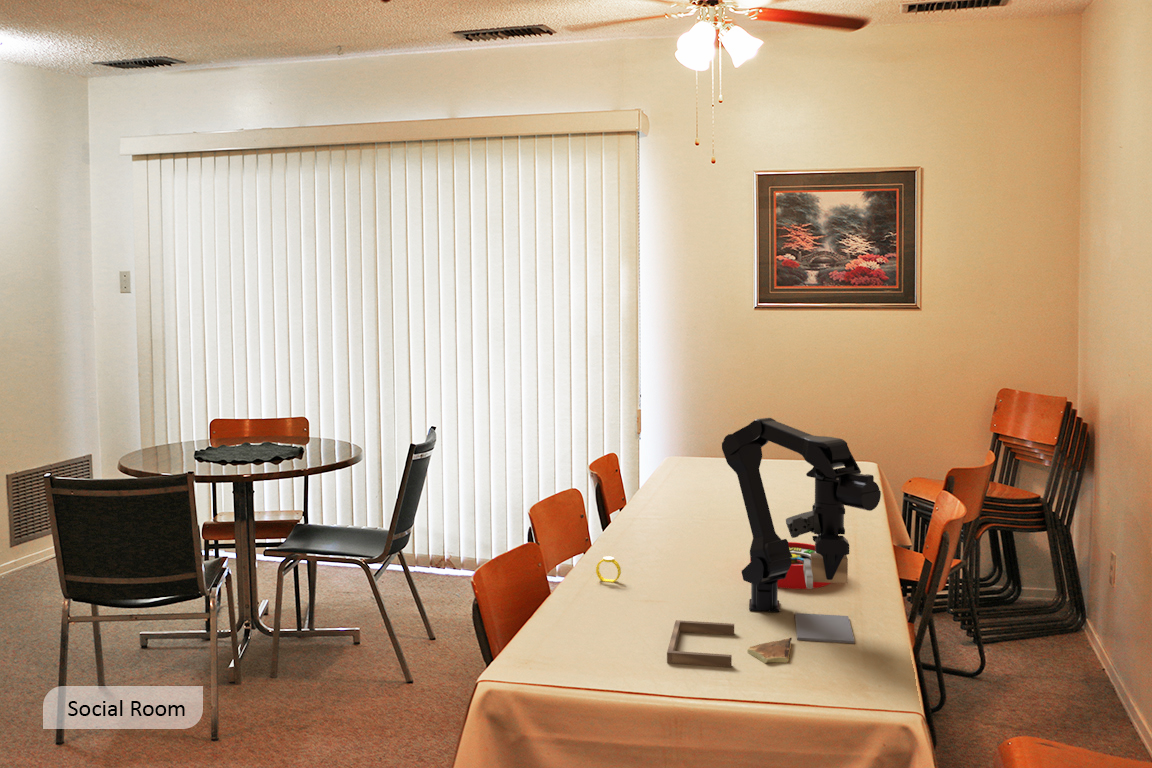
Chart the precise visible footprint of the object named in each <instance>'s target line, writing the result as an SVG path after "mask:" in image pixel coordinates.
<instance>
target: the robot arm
mask: <svg viewBox="0 0 1152 768" xmlns="http://www.w3.org/2000/svg"><path fill="white" fill-rule="evenodd" d="M769 442H770V443H773V444H776V445H778V446H780V447H783V448H785V449H787V450H789V451H793V452H794V453H797V454H799V455H801V456H802V458H803V459H804V462H806V463H808V464H810V466H812V468H811V469H810V470H809V471H807V472H806V477H809V478H814V503H813V504H812V505H811V506H812V510H810V511H806V512H801V513H799V514H796V515H793V516H790V517H787V518H785V523H786V526H787V529H788V531H789V534H790V535H789V536H790V537H791V538H792V539H793V538H798V537H799V536H802V535H805V534H807V533H811V534H814V535H812V540H813V542H814V545H815V550H816V553H818V554H821V555H822V557H823V562H824V568H825V573H826V578H827V580H832V579H833V577H834V575H835V573H836V571H837V569H838V566H839V565H840V562H841V560H842V559H843V557H844V555H850V543H849V541H848V539H847V538H846V537H845V534H846V528H845V515H846V508H845V506H847V507H851V508H856V509H860V510H864V511H869V512H872V511H873V510H875V509H876V508H877V506H878V505H879V503H880V501H881V494H882V493H881V490H880V487H879V484H878V483H877V482H875V480H874V479H875V478H874V477H875V476H874V475H872V474H868V473H867V474H866V473H865V474H863V473H862V471H861V468H860V467H859V465H858V463H857V461H856V459H855V458H854V456H853V454H852V451H850V447H849V445H848V442H847V441H846V440H844V439H842V438H839V437H833V436H825V435H812V434H811V433H808V432H805V431H803V430H800V429H798V428H795V427H792V426H789V425H786V424H785V423H782V422H780V421H777V420H775V419H774V418H772V417H763V418H756V419H754V420H753V421H751V422H749V424H747V425H746V426H744V427H742V428H739V429H738V430H736V431H735V432H733V433H730V434H727V435H725V437H724V438H723V441H722V442H721V450H722V453H723V455H724V456H723V457H724V458H725V460H726V463H727V465H728V466H729V467H730V468H731V470H733V471H734V473H735V474H736V476H737V479H738V483H739V487H740V491H741V494H742V500H743V503H744V508H745V511H746V515H747V519H748V522H749V523H748V524H749V527H750V530H751V535H752V541H751V544H750V548H749V560H750V559H751V562H750V561H749V563H748V564H747V565H746V566H745V567H744V568H743V569H742V570H741V575H742V580H743V581H744V582H747V583H749V584H750V585H751V588H750V590H751V591H750V594H751V596H750V597H751V598H749V599H748V600H749V606H748V610H749V611H756V612H770V613H780V600H779V598H778V595H779V594H778V589H779V587H778V580H780V579H785V578H786V575H787V572H788V570H789V568H790V566H791V557H793V556H792V554H791V553H790V550H789V544H788V542H789V541H788V540H787V538H783V539H782V538H781V537H780V536H779V535H778V534H777V532H776V530H775V526H774V523H773V518H772V514H771V509H770V508H769V501H768V499H767V495H766V490H765V487H764V483H763V479H762V476H761V472H760V467H761V464H762V460H763V459H762V458H763V451H762V448H763V447H764V446H765V445H767V444H768V443H769Z"/></svg>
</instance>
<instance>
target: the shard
mask: <svg viewBox="0 0 1152 768" xmlns="http://www.w3.org/2000/svg"><path fill="white" fill-rule="evenodd" d="M792 639H793V638H792V637H788V638H786V639H780V640H775V641H770V642H769V641H768V642H764V643H761V644H756V645H752V646H749V647H748V648H747V649H746V650H747V654H749V655H751V656H752V657H755V658H756V659H758V660H759V661H760V662H762V663H764V664H768V663H789V660H790V659H789V656H790V651H791V647H792V645H791V643H792V641H793V640H792Z"/></svg>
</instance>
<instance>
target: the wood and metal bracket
mask: <svg viewBox="0 0 1152 768" xmlns="http://www.w3.org/2000/svg"><path fill="white" fill-rule="evenodd" d="M848 561H849V558H848V556H847V555H844V557H843V559H842V560H841V562H840V565H839V566H838V569H837V571H836V573H835V575H834V577H833V579H832V580H827V578H826V573H825V568H824V562H823V557H822V555H821V554H818V553H811V564H810V559H803V570H804V576H805V582H806V588H809V589H808V590H811V589H812V590H813V589H814V588H813V582H826V583H830V584H833V583H834V584H848V578H849V577H848V576H849V575H848V574H849V573H848V571H849V570H848V568H849V562H848Z"/></svg>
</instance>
